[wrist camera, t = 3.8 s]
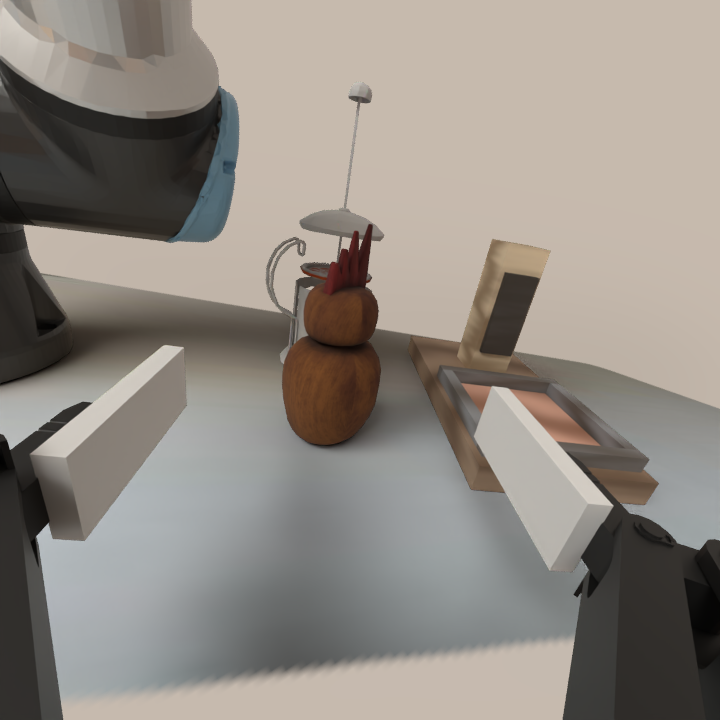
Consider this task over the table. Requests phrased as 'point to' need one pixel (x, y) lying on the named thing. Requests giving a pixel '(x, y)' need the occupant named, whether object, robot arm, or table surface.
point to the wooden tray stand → (517, 382)
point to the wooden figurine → (335, 353)
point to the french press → (327, 223)
